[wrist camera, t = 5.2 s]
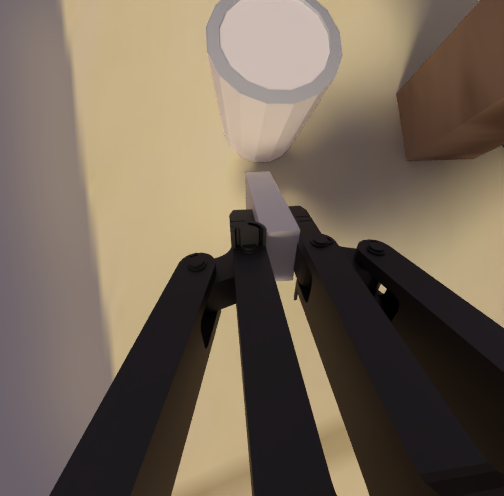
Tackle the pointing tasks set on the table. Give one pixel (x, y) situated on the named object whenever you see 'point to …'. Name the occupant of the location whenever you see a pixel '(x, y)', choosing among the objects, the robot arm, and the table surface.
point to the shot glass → (270, 70)
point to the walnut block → (458, 92)
